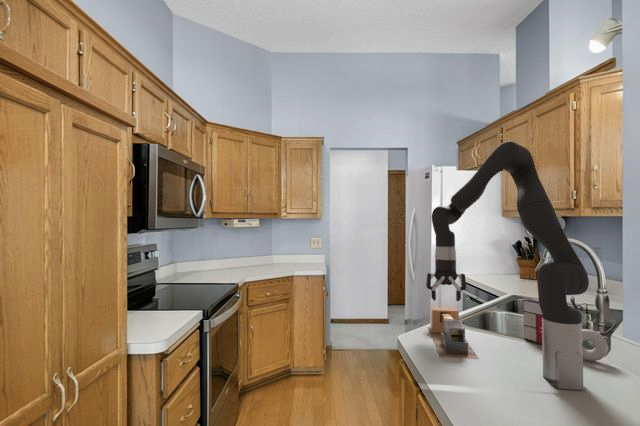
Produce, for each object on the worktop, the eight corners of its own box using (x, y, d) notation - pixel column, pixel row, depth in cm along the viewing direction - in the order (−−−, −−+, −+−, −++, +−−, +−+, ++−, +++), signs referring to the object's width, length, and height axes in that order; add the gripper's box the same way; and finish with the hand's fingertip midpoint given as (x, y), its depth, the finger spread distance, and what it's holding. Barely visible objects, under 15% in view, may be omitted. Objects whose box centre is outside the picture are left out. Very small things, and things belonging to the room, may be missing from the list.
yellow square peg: (458, 335, 124) (458, 326, 124) (449, 334, 125) (449, 325, 125) (448, 319, 144) (447, 311, 145) (440, 318, 145) (440, 311, 145)
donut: (569, 359, 118) (569, 328, 118) (569, 355, 121) (569, 325, 121) (609, 365, 112) (608, 333, 112) (607, 362, 115) (607, 330, 115)
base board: (479, 362, 115) (479, 358, 115) (439, 360, 117) (439, 356, 117) (458, 331, 147) (458, 328, 147) (427, 330, 149) (427, 327, 149)
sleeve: (468, 355, 118) (468, 328, 118) (446, 353, 119) (446, 327, 119) (461, 342, 130) (460, 319, 130) (440, 341, 131) (440, 318, 131)
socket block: (458, 333, 141) (458, 311, 141) (432, 332, 143) (431, 310, 143) (456, 329, 146) (456, 308, 146) (430, 328, 147) (430, 307, 148)
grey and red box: (522, 339, 138) (521, 299, 138) (530, 337, 139) (529, 298, 140) (551, 348, 128) (550, 305, 128) (559, 346, 129) (558, 304, 130)
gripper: (427, 258, 137) (428, 302, 136) (467, 259, 135) (467, 303, 134) (425, 257, 144) (425, 298, 144) (462, 257, 142) (463, 299, 141)
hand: (446, 300), depth 139 cm, fingers open, 8 cm apart
